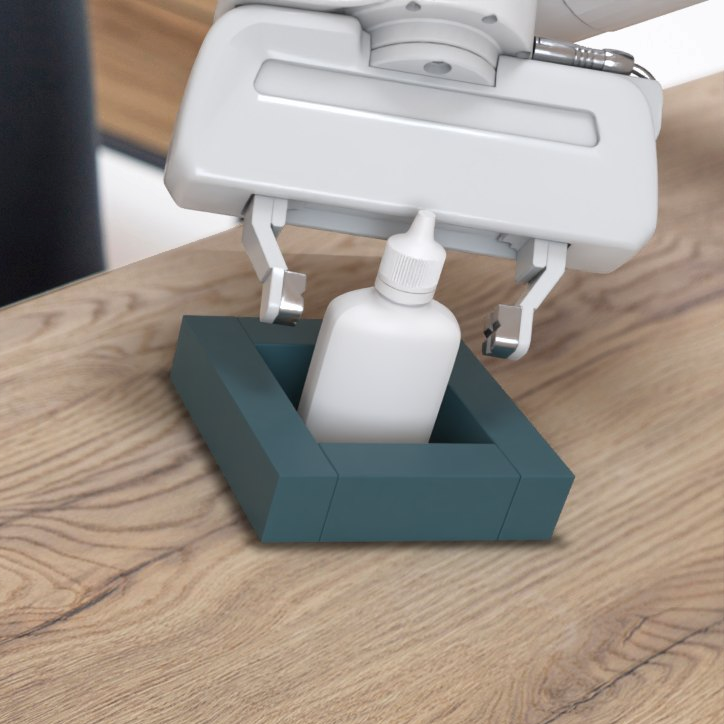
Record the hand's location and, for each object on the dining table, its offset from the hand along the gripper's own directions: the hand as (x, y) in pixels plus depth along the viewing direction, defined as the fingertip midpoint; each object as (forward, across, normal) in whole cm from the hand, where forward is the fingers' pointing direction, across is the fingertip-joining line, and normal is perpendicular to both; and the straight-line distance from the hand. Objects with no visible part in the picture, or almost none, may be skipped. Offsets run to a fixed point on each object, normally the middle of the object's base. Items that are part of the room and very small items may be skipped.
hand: (393, 337), depth 71 cm
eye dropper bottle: (+4, 0, -6) cm, 7 cm away
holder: (+4, 0, -5) cm, 7 cm away
